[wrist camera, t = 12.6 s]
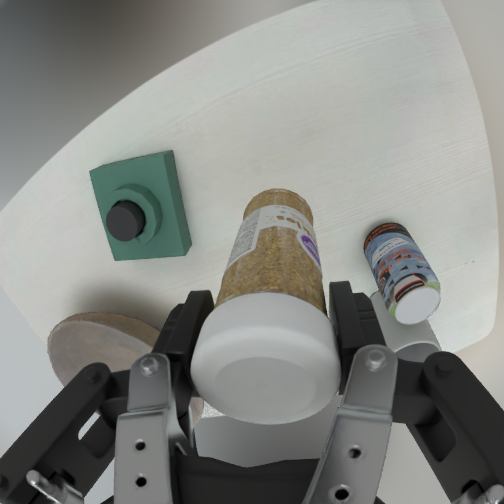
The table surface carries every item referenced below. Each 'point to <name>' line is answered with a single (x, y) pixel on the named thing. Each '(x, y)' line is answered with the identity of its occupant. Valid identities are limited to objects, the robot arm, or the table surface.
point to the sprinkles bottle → (270, 321)
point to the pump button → (125, 221)
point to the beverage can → (402, 274)
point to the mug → (405, 334)
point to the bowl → (103, 346)
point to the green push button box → (145, 205)
